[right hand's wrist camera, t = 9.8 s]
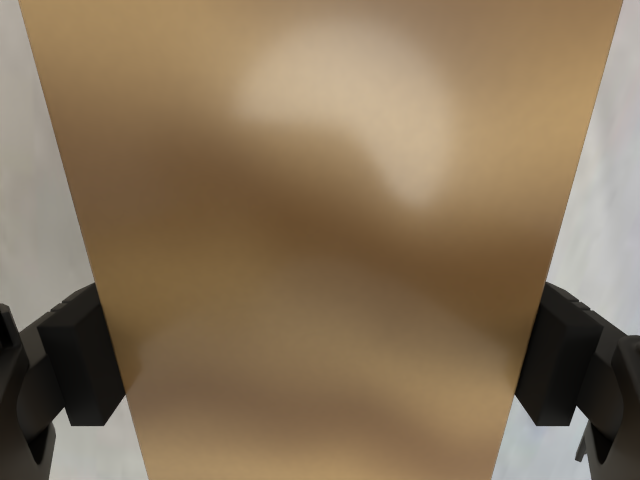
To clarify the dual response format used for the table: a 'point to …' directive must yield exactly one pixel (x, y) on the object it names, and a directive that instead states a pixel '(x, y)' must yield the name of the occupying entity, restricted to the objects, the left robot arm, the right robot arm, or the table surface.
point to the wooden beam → (320, 217)
